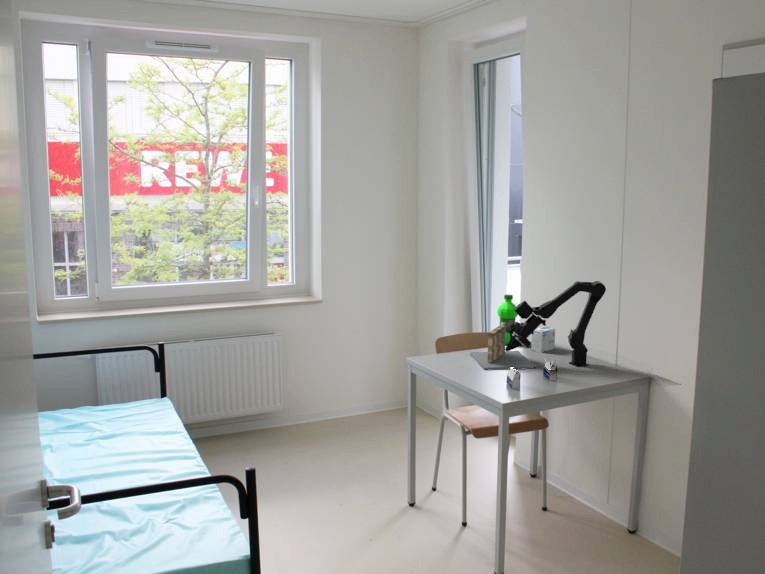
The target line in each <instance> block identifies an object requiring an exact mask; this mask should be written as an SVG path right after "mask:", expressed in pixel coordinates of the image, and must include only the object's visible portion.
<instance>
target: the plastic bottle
mask: <svg viewBox="0 0 765 574" xmlns="http://www.w3.org/2000/svg"><path fill="white" fill-rule="evenodd" d="M503 298H504V302H503V303H502V304H500V305H499V306H498V308H497V315H498V317H499V326H501V323H502V322H504V323H506V336H505V346H507V345H508V343H509V341H510V333H509V332H508V331H507V330H508V329H509V327H508V326H507V324H508V322H509V320H511V321H513V322H516V319H517V317H518V316H519V315H518V314H517V313H516V312H515V311H514V309H515V308H516V306H517V305H515V303H514V302H513V301H512V300H513V298H514V295H513V294H504V297H503Z"/></svg>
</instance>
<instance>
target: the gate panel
mask: <svg viewBox="0 0 765 574" xmlns="http://www.w3.org/2000/svg"><path fill="white" fill-rule="evenodd" d="M504 329H505V326H500V325H498V326H497V327H495V328H494V329H492V330H490V331H489V332H487V352H488V359H487V362H493V361H494V360H496V359H497V358H498V357H500V356H501V355H502V354H503V345H504Z"/></svg>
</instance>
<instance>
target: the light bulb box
mask: <svg viewBox="0 0 765 574" xmlns="http://www.w3.org/2000/svg"><path fill="white" fill-rule="evenodd" d="M533 332H534V334H533V335H532V334H531V346H530V347H531V348H530V349H532V350H531V351H533V350H536V351H535V352H537V351H539V352H538V353H541V352H542V353H545V352H549V351H553V350H555V345H556V344H555V343H556V328H554V327H551V326H547V325H546V326H544V325H543V326H540V327H537V328H536V329H535V330H534V331H533ZM544 351H545V352H544Z"/></svg>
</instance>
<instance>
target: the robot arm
mask: <svg viewBox="0 0 765 574" xmlns="http://www.w3.org/2000/svg"><path fill="white" fill-rule="evenodd" d="M606 291H607V288H606V285H604V283H602V282H601V281H600V280H595V281H592V282H590V281H579V280H577V281H575V282H573V284H572V285H570V286H569V287H568V288H566V289H565V290H564V291H562V292H561V293H560V294H558V295H557V296H556V297H554V298H553V299H551V300H547V301H546V302H544V303H542V304H541V305H540V306H534V307H532V306H531V305H530V304H529V303H528V302H527V301H526V300H523V301H522V302H520V303H519V304H518V305H515V306H516V308H515V309H514V311H515V312H516V313H517V314H518V315H517V316H519V318H521V319H522V320H525V321H524V322H518V321H515V322H513V321H511V320H509V322H508V324H507V326H508V327H509V329H508V330H507V331H508V332H509V333H510V341H509V343H508V345H506V346H505V351H513V350H515V349H517V348H519V347H523V346H525V348H527V349H529V348H530V347H531V344H532V341H530V340H529V339H528V338H529V337H530V336H532V335H533V334H534V332H533V331H534V330H535V329H536V328H539V326H540V325H542V326H543V327H544V326H546V327H547V324H546V322H547V320H546V319H549V318H551V317H552V316H553V315H554V314H555V312H557V310H558V308H560V307H561V306H563V305H564V304H565V303H566V302H568V300H570V299H571V298H573V297H574V296H575V295H577V294H578V293H580V292H583V293H588V299H587V301H586V304H585V306H584V309H583V311H582V314H581V316H580V317H579V321H578V323H577V325H576V327H575V328H574V329H570V331H569V335H568V336H567V338H568V343H569V346H570V348H571V349H572V353H571V361H569V362H568V363H569V365H572V366H575V367H578V368H579V367H587V366H590V363H587V358H588V357H587V355H588V351H589V349H588V348H587V346H586V345H585V343H584V342H585V338H586V337H585V335H586V331H587V328H588V325H589V323H590V321H591V319H592V316H593V314H594V311H595V309H596V306H597V304H598V303H599V302H600V301H601V299H602V298H603V297H604V295H605V293H606Z"/></svg>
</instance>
